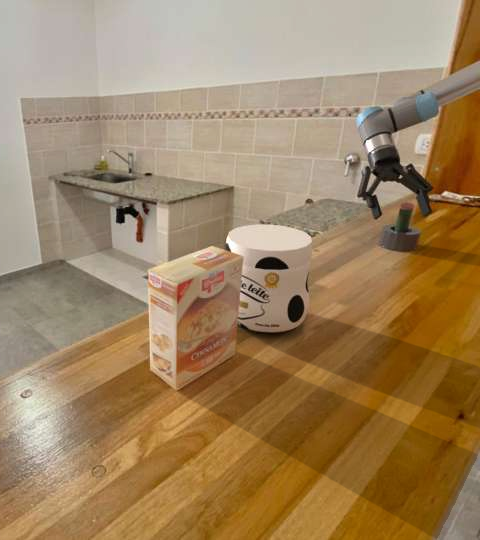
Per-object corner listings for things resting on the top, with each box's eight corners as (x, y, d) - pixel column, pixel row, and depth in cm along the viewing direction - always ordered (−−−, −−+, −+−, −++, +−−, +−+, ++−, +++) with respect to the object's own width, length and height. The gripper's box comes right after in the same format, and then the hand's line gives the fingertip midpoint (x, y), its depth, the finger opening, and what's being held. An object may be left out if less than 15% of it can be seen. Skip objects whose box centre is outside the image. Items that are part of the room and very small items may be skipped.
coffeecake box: (177, 392, 61) (177, 283, 53) (148, 370, 66) (145, 268, 58) (237, 354, 69) (245, 255, 61) (207, 337, 74) (211, 244, 66)
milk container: (213, 335, 75) (217, 250, 68) (221, 294, 90) (225, 221, 82) (310, 347, 69) (326, 256, 62) (301, 302, 84) (313, 224, 77)
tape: (414, 242, 111) (419, 226, 109) (417, 253, 104) (422, 236, 102) (378, 238, 116) (381, 223, 114) (378, 248, 109) (382, 232, 107)
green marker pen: (403, 243, 110) (413, 203, 106) (403, 247, 108) (414, 205, 103) (390, 242, 112) (400, 202, 107) (391, 245, 110) (401, 205, 105)
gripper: (415, 159, 118) (438, 219, 110) (333, 163, 119) (350, 224, 111) (433, 143, 111) (458, 206, 103) (346, 148, 112) (365, 211, 104)
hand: (402, 216), depth 107 cm, fingers open, 13 cm apart
